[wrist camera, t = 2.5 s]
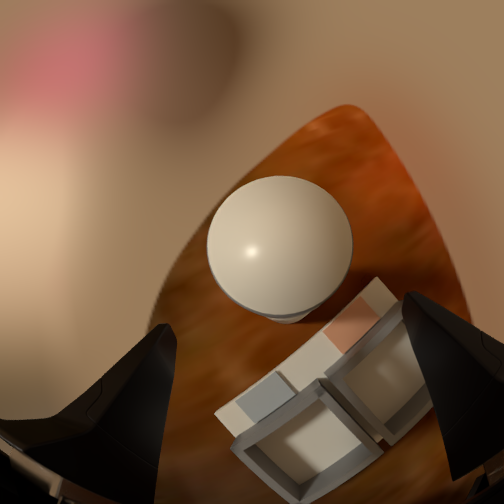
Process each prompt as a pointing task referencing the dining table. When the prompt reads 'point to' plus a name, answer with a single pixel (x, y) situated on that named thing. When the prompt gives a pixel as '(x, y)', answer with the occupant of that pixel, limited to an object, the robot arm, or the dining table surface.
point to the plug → (280, 247)
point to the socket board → (331, 401)
